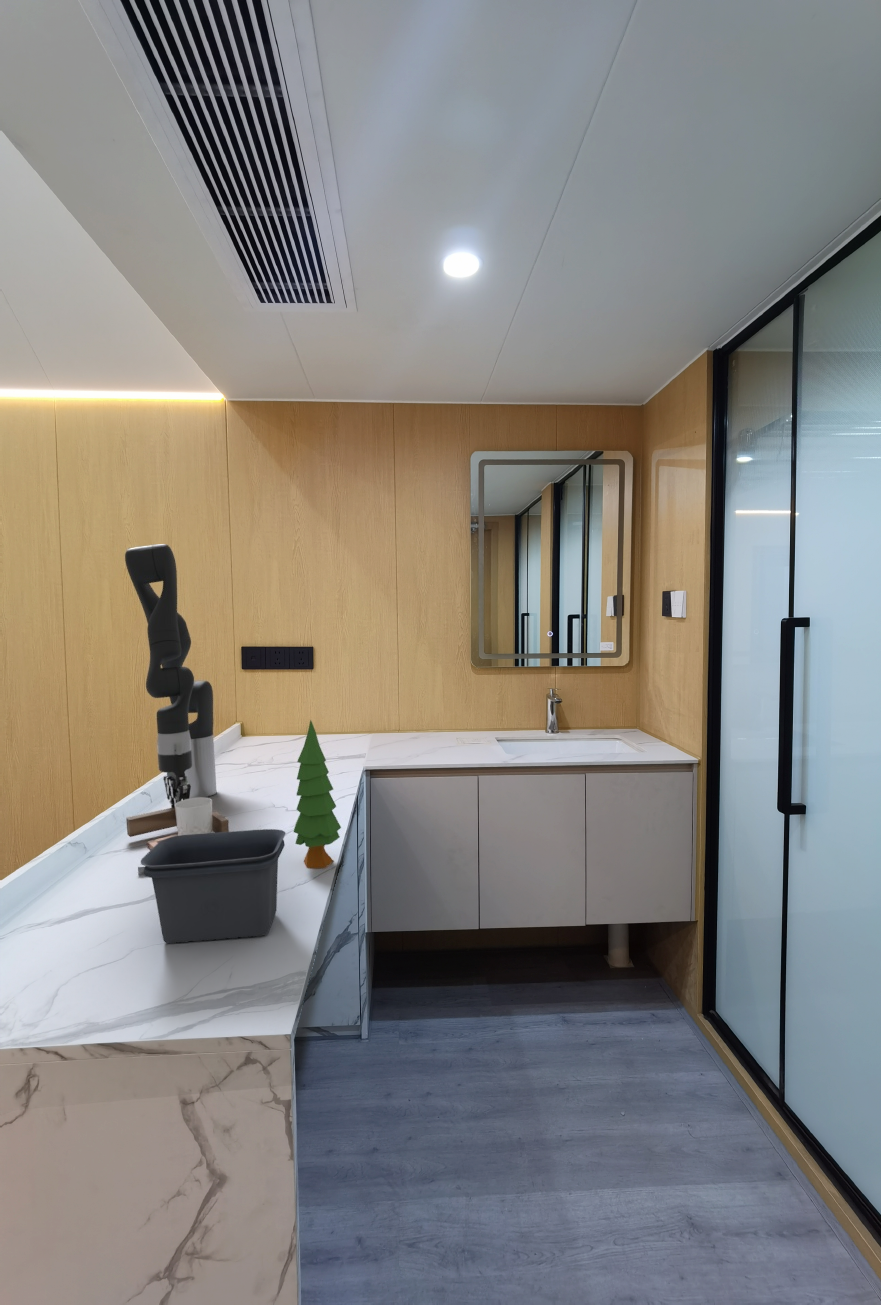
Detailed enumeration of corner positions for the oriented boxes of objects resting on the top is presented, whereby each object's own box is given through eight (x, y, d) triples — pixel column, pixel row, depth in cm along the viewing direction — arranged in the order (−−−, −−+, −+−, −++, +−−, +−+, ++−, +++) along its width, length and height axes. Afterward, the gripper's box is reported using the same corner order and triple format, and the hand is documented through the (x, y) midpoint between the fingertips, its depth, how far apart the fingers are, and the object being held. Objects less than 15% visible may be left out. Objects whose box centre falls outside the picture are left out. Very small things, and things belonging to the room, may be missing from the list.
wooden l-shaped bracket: (127, 834, 148) (126, 817, 148) (201, 817, 159) (200, 801, 158) (149, 857, 133) (148, 838, 133) (229, 836, 144) (228, 819, 144)
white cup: (220, 839, 147) (217, 796, 147) (206, 852, 140) (203, 807, 139) (186, 839, 148) (184, 797, 147) (171, 852, 140) (168, 808, 139)
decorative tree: (325, 851, 138) (319, 714, 136) (351, 862, 131) (345, 719, 129) (286, 864, 131) (279, 721, 129) (311, 877, 124) (304, 726, 122)
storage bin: (139, 955, 98) (132, 865, 97) (173, 908, 113) (168, 830, 112) (279, 945, 99) (274, 856, 98) (294, 900, 115) (290, 823, 114)
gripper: (150, 748, 156) (154, 816, 157) (167, 757, 145) (171, 831, 146) (181, 743, 160) (185, 810, 162) (200, 751, 150) (204, 823, 151)
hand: (179, 819), depth 154 cm, fingers closed on wooden l-shaped bracket, 2 cm apart
